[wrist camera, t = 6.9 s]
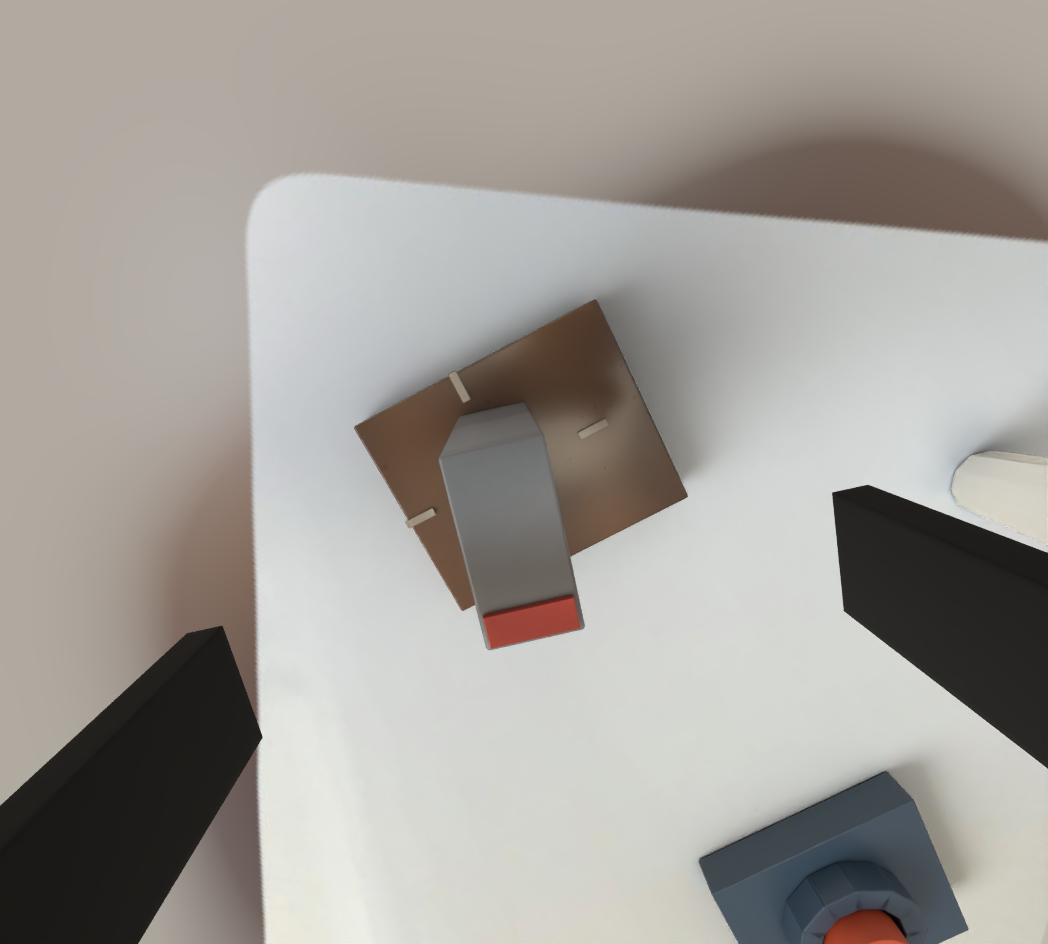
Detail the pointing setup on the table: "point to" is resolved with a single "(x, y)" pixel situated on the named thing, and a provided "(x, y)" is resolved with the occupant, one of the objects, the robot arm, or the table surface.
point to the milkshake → (1006, 491)
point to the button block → (836, 871)
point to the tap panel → (565, 420)
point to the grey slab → (510, 527)
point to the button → (865, 929)
